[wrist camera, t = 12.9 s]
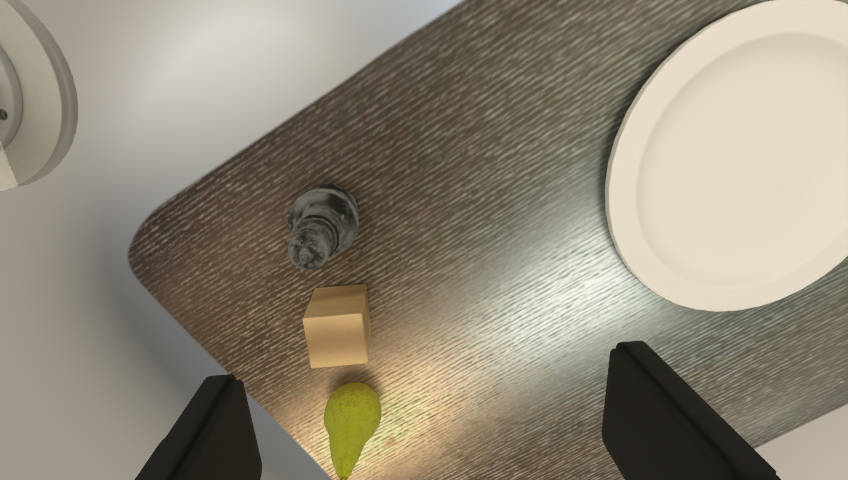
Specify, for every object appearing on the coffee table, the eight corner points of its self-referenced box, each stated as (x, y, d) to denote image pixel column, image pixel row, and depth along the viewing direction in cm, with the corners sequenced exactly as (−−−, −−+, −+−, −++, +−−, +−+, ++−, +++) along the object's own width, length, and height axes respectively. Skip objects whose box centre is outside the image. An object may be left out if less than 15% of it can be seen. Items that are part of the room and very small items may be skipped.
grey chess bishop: (297, 240, 39) (258, 299, 28) (296, 178, 37) (254, 214, 26) (361, 244, 40) (348, 302, 28) (363, 182, 38) (350, 219, 26)
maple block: (314, 287, 41) (302, 318, 35) (366, 283, 41) (361, 313, 35) (322, 332, 42) (311, 368, 37) (371, 327, 43) (368, 363, 37)
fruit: (365, 359, 44) (355, 450, 32) (392, 399, 46) (391, 498, 34) (317, 382, 44) (291, 480, 33) (346, 420, 46) (330, 526, 35)
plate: (947, 49, 37) (982, 46, 35) (794, 320, 46) (814, 332, 44) (668, -39, 34) (687, -48, 31) (557, 275, 42) (566, 285, 40)
